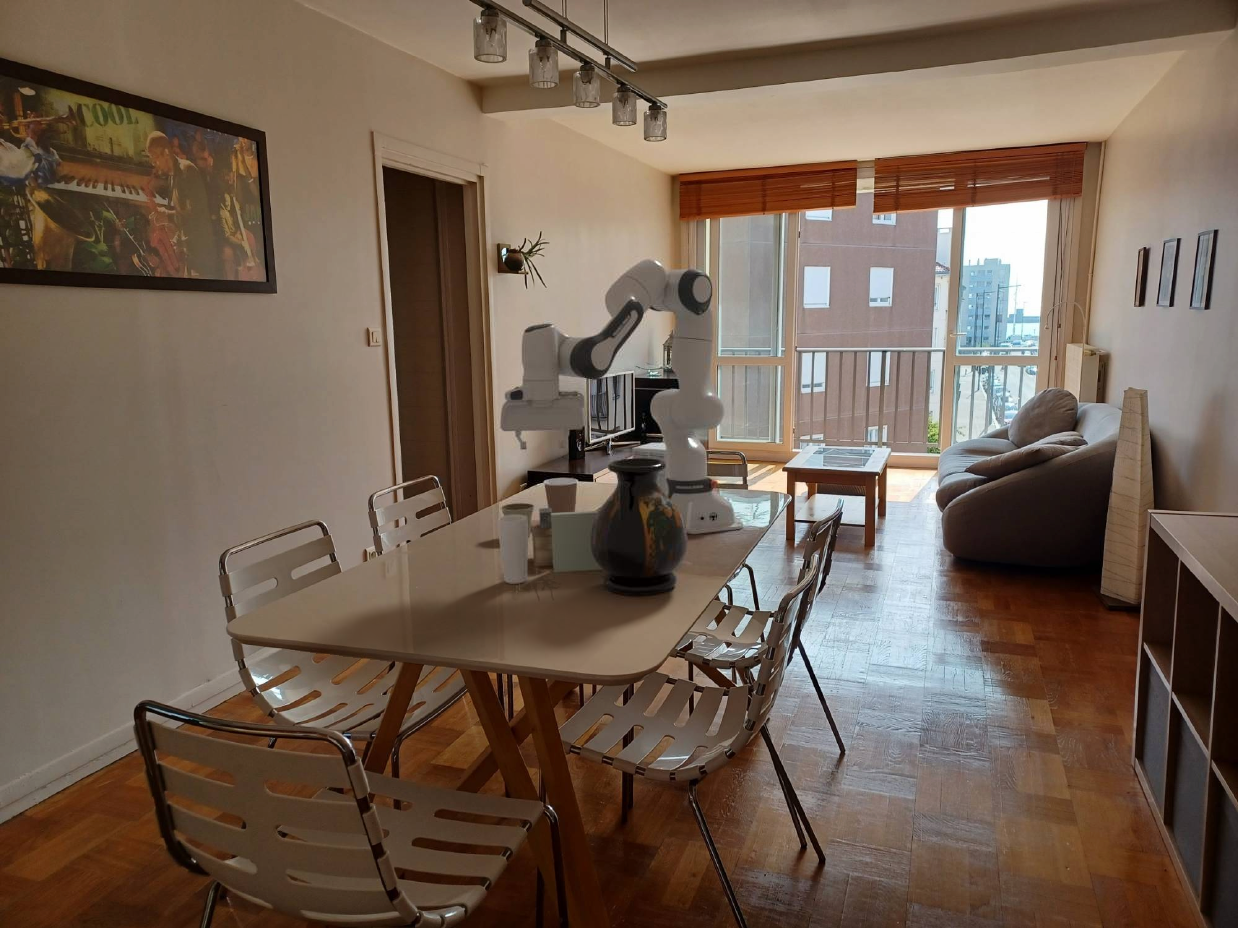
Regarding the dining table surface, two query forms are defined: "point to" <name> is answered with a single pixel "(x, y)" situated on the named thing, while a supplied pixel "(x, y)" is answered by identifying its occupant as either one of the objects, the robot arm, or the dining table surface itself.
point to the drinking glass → (514, 547)
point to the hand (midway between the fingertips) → (542, 448)
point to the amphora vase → (638, 531)
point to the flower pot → (519, 511)
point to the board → (573, 541)
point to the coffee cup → (561, 494)
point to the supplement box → (657, 453)
